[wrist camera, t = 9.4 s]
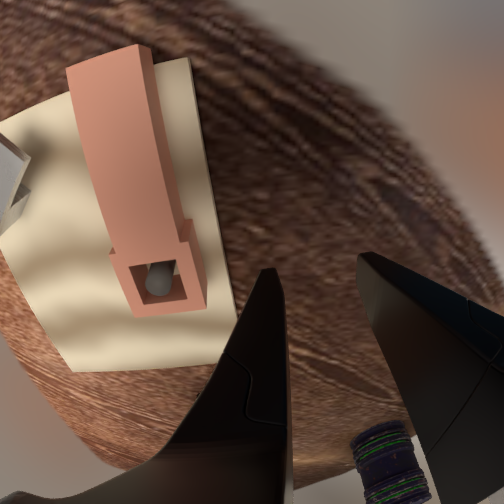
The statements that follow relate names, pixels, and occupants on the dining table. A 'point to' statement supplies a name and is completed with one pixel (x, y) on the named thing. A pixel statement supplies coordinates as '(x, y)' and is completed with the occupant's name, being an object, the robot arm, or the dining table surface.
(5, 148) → the block
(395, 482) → the storage jar
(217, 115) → the dining table surface
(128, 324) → the board
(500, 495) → the robot arm
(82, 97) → the link
